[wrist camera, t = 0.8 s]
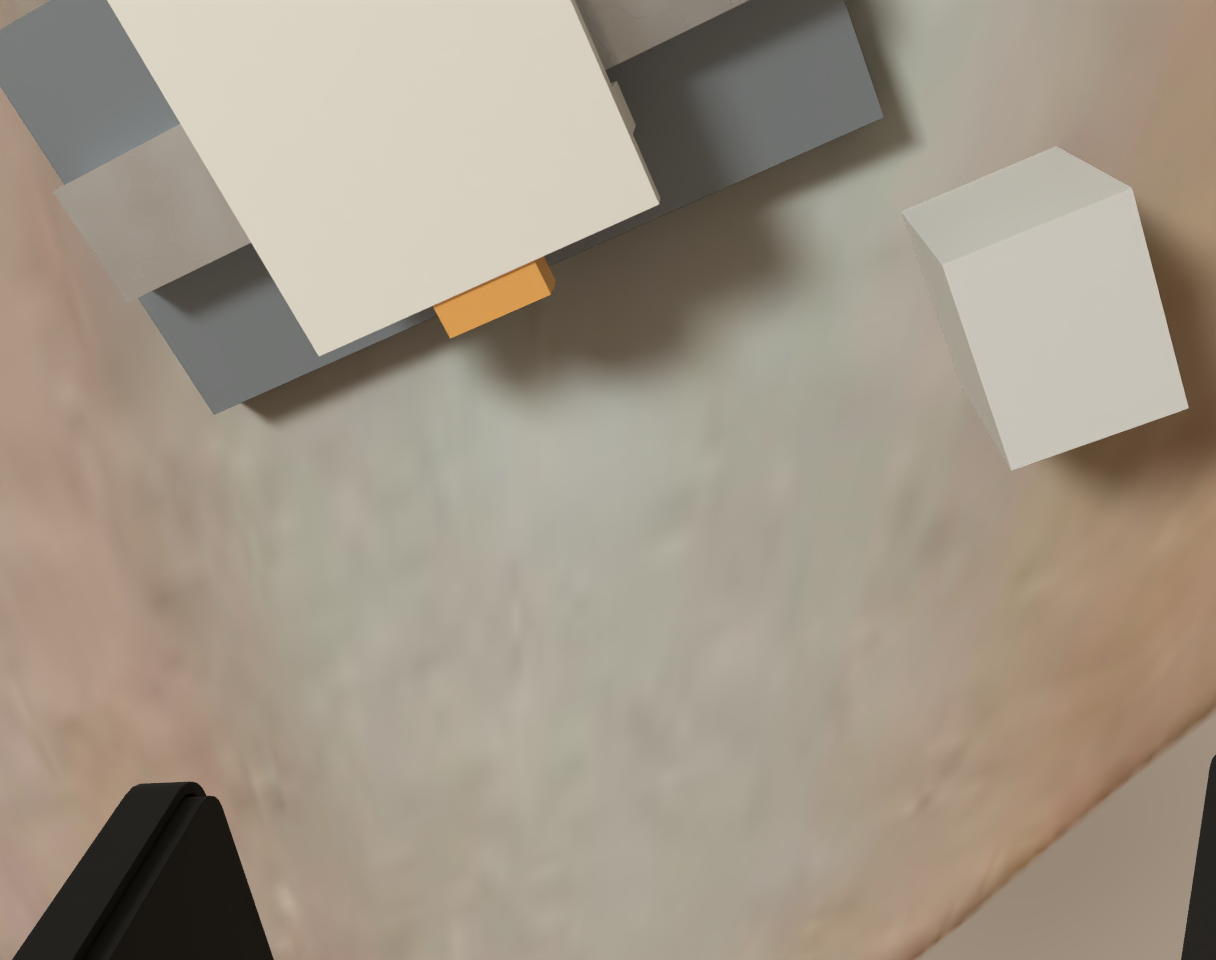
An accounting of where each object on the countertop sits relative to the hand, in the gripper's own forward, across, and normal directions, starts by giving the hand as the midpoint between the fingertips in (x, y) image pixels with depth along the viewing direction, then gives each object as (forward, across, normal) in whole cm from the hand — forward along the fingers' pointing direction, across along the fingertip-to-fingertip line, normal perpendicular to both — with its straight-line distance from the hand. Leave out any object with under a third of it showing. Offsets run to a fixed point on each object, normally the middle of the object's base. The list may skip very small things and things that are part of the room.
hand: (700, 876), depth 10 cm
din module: (+25, -9, +1) cm, 26 cm away
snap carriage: (+22, +7, -5) cm, 23 cm away
